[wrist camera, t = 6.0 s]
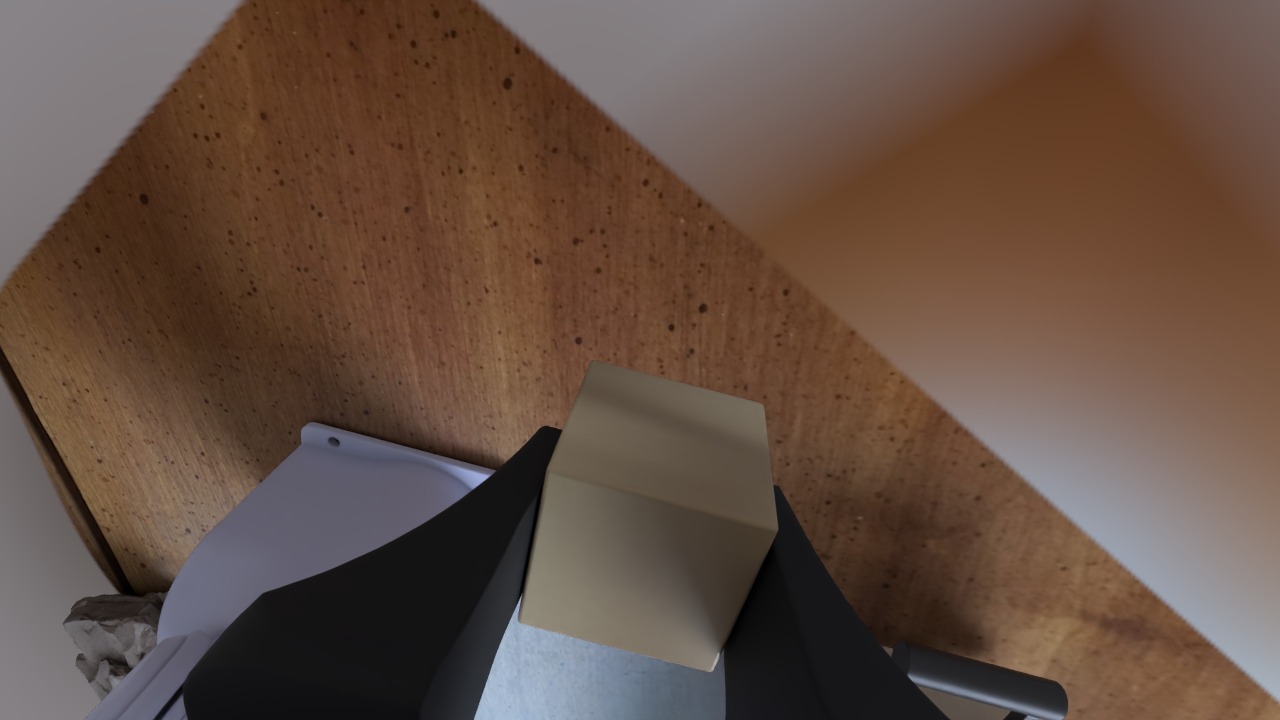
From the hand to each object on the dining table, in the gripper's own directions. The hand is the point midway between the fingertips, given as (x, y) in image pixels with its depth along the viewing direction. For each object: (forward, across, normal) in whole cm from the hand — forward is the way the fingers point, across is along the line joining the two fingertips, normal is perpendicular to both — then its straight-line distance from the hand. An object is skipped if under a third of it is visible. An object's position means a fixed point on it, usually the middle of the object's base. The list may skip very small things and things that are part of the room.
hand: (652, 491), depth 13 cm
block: (+1, 0, 0) cm, 1 cm away
